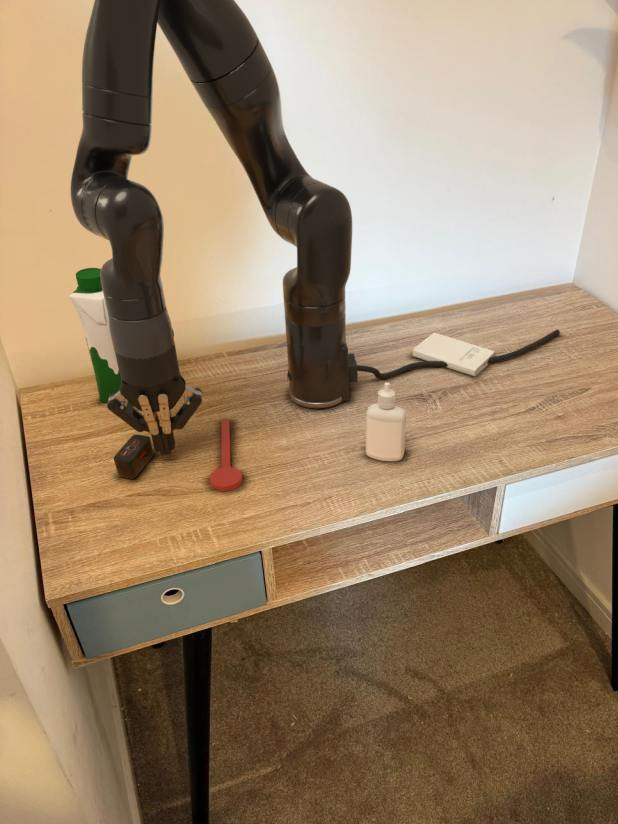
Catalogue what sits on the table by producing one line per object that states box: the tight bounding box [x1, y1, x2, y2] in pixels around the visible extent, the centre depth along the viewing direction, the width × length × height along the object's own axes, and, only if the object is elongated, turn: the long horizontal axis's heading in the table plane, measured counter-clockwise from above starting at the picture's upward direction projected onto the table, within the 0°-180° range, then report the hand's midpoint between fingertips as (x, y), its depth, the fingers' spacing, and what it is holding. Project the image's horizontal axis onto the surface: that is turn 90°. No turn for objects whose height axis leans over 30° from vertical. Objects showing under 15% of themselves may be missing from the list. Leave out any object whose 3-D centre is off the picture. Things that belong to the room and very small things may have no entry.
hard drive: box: [411, 332, 497, 377], centre depth 131 cm, size 2×8×12 cm
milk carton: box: [68, 267, 135, 407], centre depth 113 cm, size 9×9×20 cm
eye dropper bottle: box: [365, 382, 407, 462], centre depth 105 cm, size 4×6×12 cm
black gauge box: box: [113, 434, 154, 480], centre depth 105 cm, size 5×7×3 cm, turn 167°
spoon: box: [209, 418, 243, 492], centre depth 108 cm, size 4×17×1 cm, turn 10°
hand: (166, 451), depth 106 cm, fingers closed
